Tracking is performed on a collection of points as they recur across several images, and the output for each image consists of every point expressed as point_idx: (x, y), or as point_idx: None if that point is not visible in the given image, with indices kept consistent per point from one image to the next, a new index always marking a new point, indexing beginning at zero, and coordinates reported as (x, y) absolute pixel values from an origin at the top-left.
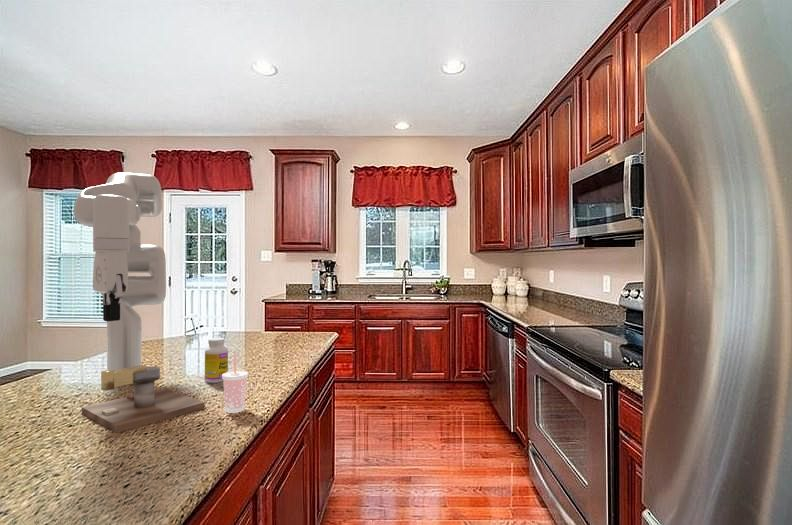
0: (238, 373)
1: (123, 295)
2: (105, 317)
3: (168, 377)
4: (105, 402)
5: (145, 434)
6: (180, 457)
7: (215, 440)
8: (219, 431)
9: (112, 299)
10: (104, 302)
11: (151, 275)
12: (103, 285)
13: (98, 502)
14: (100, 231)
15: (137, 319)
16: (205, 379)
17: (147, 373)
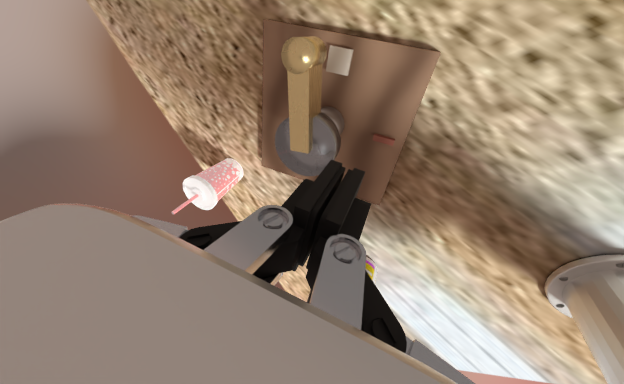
0: (192, 194)
1: None
2: (326, 166)
3: (461, 273)
4: (414, 101)
5: (232, 43)
6: (136, 13)
7: (160, 77)
8: (182, 102)
9: (206, 226)
10: (330, 240)
11: None
12: (11, 277)
13: None
14: None
15: None
16: (366, 259)
17: (277, 132)
